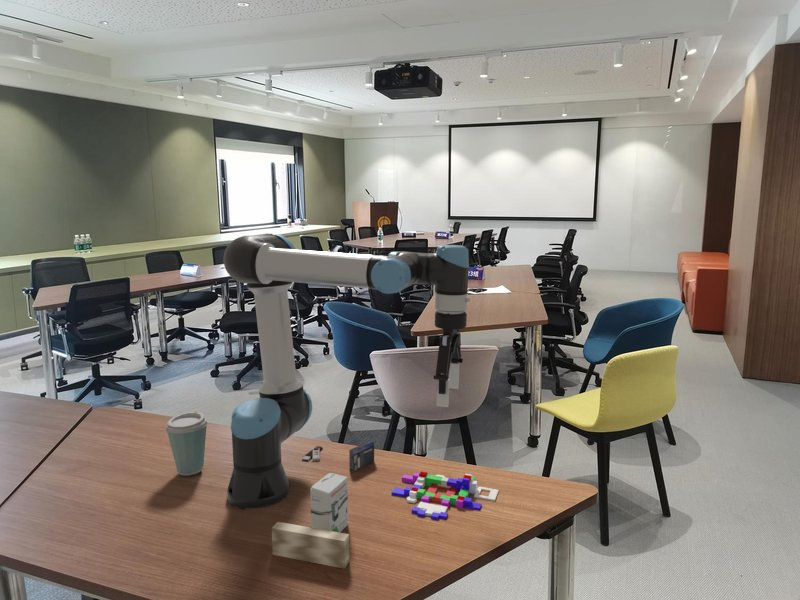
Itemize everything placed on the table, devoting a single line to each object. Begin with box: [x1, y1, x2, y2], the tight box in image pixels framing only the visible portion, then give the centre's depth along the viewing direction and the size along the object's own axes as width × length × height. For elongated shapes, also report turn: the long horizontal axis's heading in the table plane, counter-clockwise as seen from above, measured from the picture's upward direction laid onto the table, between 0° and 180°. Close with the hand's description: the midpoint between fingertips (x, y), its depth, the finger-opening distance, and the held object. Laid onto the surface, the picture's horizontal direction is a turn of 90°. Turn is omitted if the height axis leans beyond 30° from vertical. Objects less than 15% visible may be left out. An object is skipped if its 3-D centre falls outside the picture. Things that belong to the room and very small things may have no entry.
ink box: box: [309, 472, 349, 533], centre depth 125 cm, size 9×5×12 cm, turn 156°
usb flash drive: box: [301, 445, 324, 462], centre depth 164 cm, size 9×5×1 cm, turn 159°
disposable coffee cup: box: [165, 411, 208, 476], centre depth 153 cm, size 11×11×15 cm
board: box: [271, 521, 350, 569], centre depth 116 cm, size 16×2×6 cm, turn 74°
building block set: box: [390, 471, 499, 520], centre depth 141 cm, size 25×20×4 cm
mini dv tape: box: [348, 440, 375, 473], centre depth 157 cm, size 8×2×6 cm, turn 139°
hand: (447, 396), depth 138 cm, fingers open, 13 cm apart
